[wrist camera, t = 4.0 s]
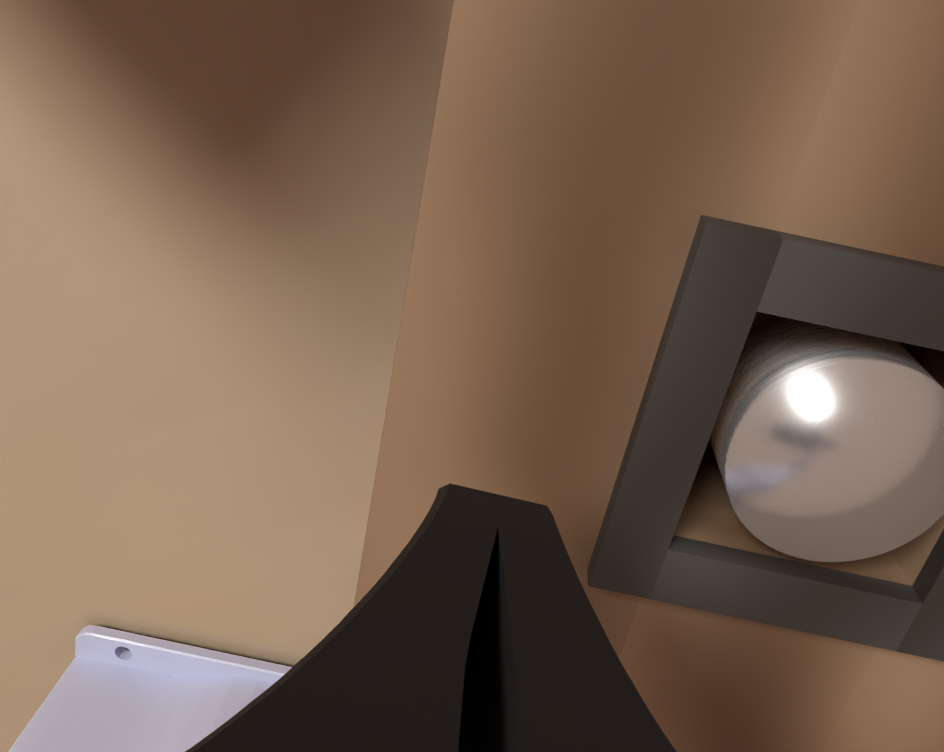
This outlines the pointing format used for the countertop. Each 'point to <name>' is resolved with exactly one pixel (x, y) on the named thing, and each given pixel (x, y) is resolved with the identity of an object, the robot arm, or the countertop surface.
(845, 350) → the steel peg
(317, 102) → the countertop surface
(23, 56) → the countertop surface
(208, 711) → the robot arm
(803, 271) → the walnut block
